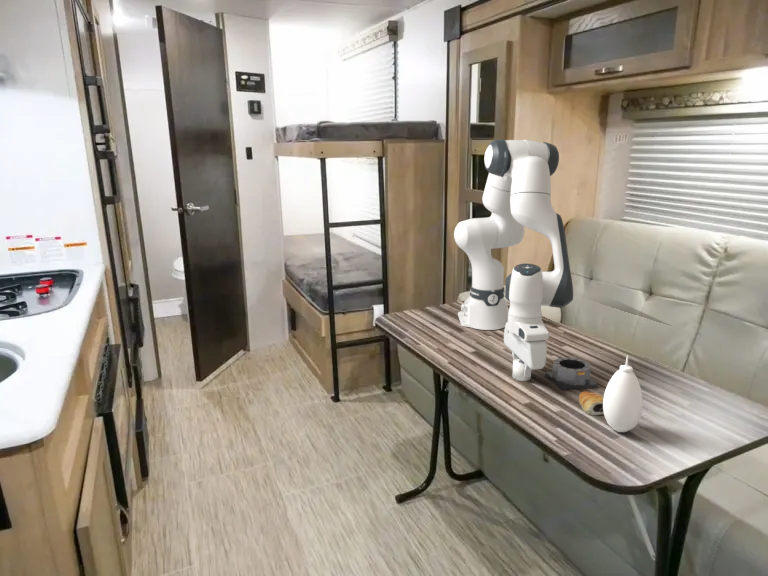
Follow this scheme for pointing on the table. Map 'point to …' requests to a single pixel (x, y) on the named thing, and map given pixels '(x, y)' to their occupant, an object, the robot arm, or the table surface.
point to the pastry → (591, 403)
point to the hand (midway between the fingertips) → (521, 371)
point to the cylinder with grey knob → (519, 370)
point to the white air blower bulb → (623, 400)
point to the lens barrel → (571, 374)
